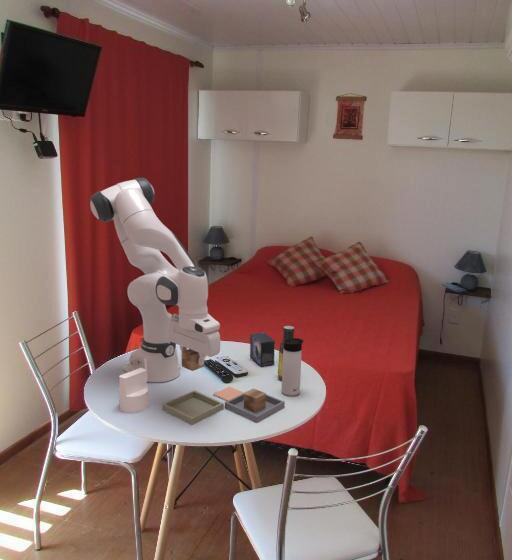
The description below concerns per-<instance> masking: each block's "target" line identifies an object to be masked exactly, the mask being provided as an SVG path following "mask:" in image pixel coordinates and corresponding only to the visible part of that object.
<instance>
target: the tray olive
mask: <svg viewBox="0 0 512 560" xmlns="http://www.w3.org/2000/svg"><path fill="white" fill-rule="evenodd" d="M224 409H225V402H221V401H219V400H217V399H215V398H212V397H211V396H209V395H206V394H204V393H201V392H199V391H197V390H192V391H189V392H187V393H185V394H182V395H180V396H178V397H175V398H174V399H171V400H169V401H166V402H164V403H162V411H164V412H166V413H167V414H169V415H172V416H174V417H175V418H178V419H179V420H181V421H184V422H185V423H187V424H189V425H191V426H193V425H195V424H197V423H199V422H201V421H203V420H205V419H207V418H209V417H212V415H216V414H217V413H219V412H221V411H223V410H224Z"/></svg>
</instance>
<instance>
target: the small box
mask: <svg viewBox="0 0 512 560" xmlns="http://www.w3.org/2000/svg"><path fill="white" fill-rule="evenodd" d="M249 338H250V339H249V341H250V342H249V344H250V345H249V359H250V360H252V361H253V362H254V363H255V364H256V365H257V366H258V367H260V368H264V367H265V368H266V367H270V366H274V365H275V346H276V345H275V344H276V343H275V342H276V340H275V339H273V338H272V337H271V336H270V335H268V334H267V333H265V332H256V333H255V332H254V333H250V336H249Z"/></svg>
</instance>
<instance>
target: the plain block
mask: <svg viewBox="0 0 512 560" xmlns="http://www.w3.org/2000/svg"><path fill="white" fill-rule="evenodd" d="M252 389H253V390H251V389H250V390H251V391H249V390H247V391H248V392H247V391H245V392H246V393H245V392H244V408H245V409H248V410H250V411H252V412H255V413H256V412H258V411H260V410H262V409H264V408H266V394H267V393H266V392H263V391H261V390H258V389H256V388H252Z"/></svg>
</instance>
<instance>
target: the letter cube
mask: <svg viewBox="0 0 512 560" xmlns="http://www.w3.org/2000/svg"><path fill="white" fill-rule="evenodd" d="M199 357H200V356H199V352H196V351H194V350H191V349H188V348H187V350H185V351H182V352H181V367H182V368H184V369H186V370H189V371H191V372H194V371H197V370H198V369H202V368H203V367H205V363H204V364H203V365H201V366H200V365H198V364H197V359H199Z"/></svg>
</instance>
